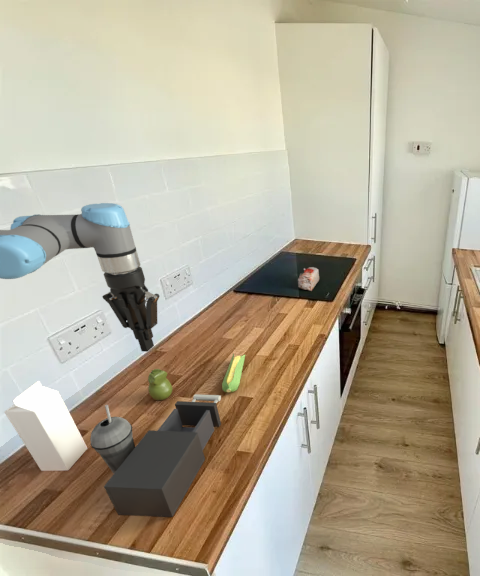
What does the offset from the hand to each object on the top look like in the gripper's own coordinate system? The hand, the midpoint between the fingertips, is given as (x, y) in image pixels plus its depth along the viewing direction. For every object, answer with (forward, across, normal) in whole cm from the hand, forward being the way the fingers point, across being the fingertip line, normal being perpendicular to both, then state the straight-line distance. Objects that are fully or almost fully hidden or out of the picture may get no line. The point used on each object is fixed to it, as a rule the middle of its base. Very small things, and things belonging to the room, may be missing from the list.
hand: (147, 348), depth 89 cm
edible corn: (+18, -17, -11) cm, 27 cm away
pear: (+18, 0, 0) cm, 18 cm away
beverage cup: (+18, -6, +22) cm, 30 cm away
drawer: (+17, -16, +12) cm, 27 cm away
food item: (+18, -25, -81) cm, 87 cm away
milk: (+18, +11, +21) cm, 30 cm away
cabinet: (+18, -16, +26) cm, 35 cm away
